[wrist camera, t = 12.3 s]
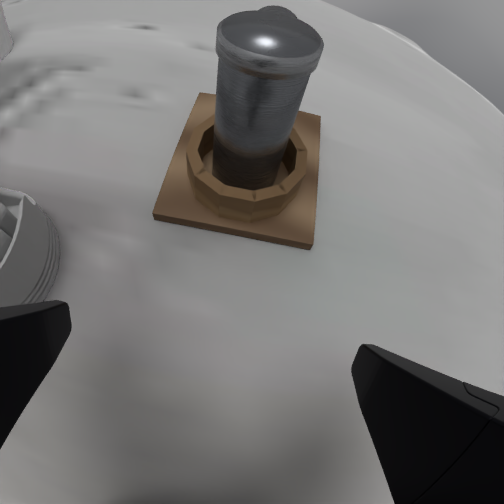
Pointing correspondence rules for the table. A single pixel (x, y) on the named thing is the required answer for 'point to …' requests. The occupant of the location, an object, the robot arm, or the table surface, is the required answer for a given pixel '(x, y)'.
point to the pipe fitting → (259, 92)
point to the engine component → (25, 250)
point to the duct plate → (237, 199)
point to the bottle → (4, 36)
